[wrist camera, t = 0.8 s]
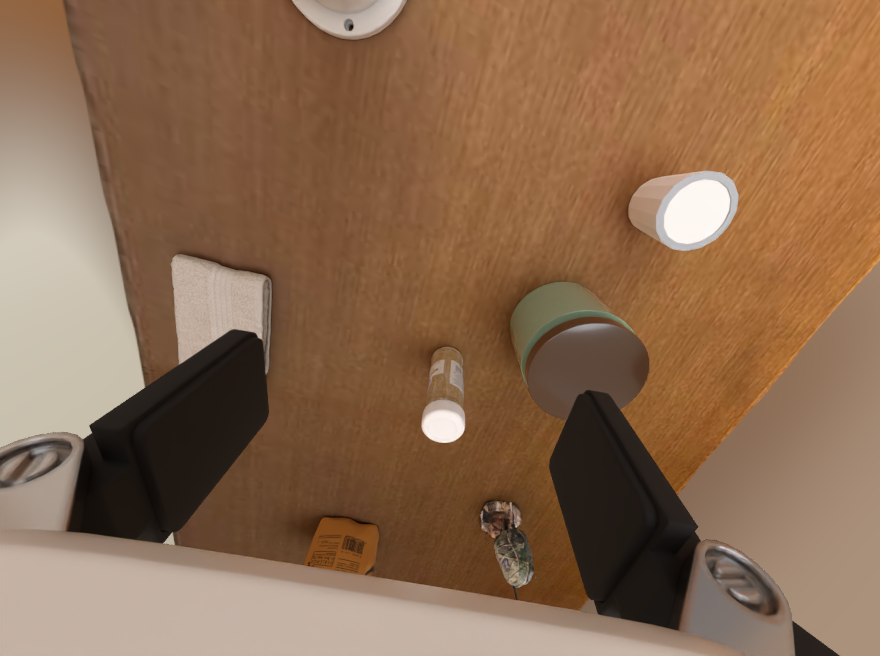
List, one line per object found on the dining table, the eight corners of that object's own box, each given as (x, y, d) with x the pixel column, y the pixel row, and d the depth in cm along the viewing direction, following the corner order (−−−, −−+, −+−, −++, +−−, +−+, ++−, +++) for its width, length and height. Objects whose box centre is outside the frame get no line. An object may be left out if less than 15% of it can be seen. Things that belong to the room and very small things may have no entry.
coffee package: (376, 552, 67) (342, 713, 47) (316, 540, 66) (256, 698, 47) (385, 523, 63) (350, 686, 43) (321, 510, 62) (256, 669, 42)
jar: (515, 279, 40) (534, 318, 30) (615, 283, 40) (669, 323, 29) (504, 362, 45) (518, 419, 35) (592, 366, 45) (632, 425, 35)
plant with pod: (537, 500, 57) (572, 651, 39) (507, 536, 62) (527, 684, 44) (495, 486, 56) (512, 634, 38) (469, 523, 61) (472, 670, 43)
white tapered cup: (646, 160, 34) (688, 158, 27) (703, 183, 34) (758, 187, 28) (609, 225, 37) (640, 236, 30) (663, 245, 37) (704, 261, 31)
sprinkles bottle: (429, 346, 45) (417, 412, 33) (462, 344, 44) (463, 409, 32) (433, 374, 47) (424, 445, 35) (465, 372, 46) (466, 443, 34)
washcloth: (191, 365, 49) (175, 377, 46) (179, 248, 41) (159, 254, 38) (271, 384, 49) (260, 397, 47) (274, 273, 41) (261, 280, 39)
